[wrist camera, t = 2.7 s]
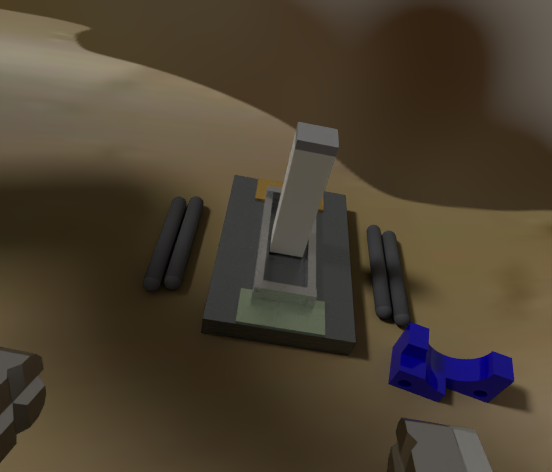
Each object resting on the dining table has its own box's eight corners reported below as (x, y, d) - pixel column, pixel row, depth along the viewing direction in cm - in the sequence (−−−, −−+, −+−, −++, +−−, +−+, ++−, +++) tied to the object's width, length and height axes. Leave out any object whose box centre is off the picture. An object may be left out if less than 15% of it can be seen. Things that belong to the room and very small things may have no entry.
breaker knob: (302, 257, 39) (338, 147, 31) (269, 251, 39) (297, 139, 30) (303, 238, 41) (337, 129, 32) (271, 232, 40) (298, 121, 32)
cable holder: (387, 384, 34) (407, 360, 32) (391, 348, 37) (410, 322, 34) (487, 421, 34) (516, 399, 31) (485, 381, 36) (511, 358, 33)
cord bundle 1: (177, 298, 36) (177, 288, 35) (141, 293, 36) (140, 282, 35) (204, 205, 45) (204, 195, 44) (174, 200, 44) (174, 189, 43)
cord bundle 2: (407, 330, 38) (414, 321, 37) (374, 325, 38) (380, 316, 37) (391, 235, 46) (396, 225, 45) (364, 230, 46) (368, 221, 45)
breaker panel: (348, 355, 35) (361, 332, 33) (201, 332, 34) (203, 307, 32) (340, 208, 48) (349, 184, 46) (232, 189, 47) (236, 163, 45)
